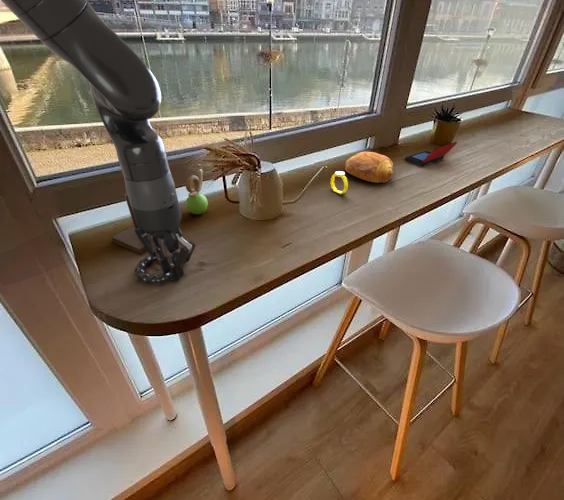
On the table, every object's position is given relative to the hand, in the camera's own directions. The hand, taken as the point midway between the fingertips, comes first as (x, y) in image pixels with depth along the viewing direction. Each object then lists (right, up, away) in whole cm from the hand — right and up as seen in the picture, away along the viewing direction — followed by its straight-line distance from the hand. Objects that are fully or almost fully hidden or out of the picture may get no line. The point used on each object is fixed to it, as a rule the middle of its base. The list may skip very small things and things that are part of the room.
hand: (174, 275), depth 64 cm
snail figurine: (0, +15, +21) cm, 26 cm away
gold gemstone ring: (+38, +22, +30) cm, 53 cm away
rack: (-11, +8, +11) cm, 17 cm away
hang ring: (-3, +2, +1) cm, 4 cm away
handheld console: (+73, +36, +49) cm, 95 cm away
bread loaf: (+50, +29, +40) cm, 70 cm away
